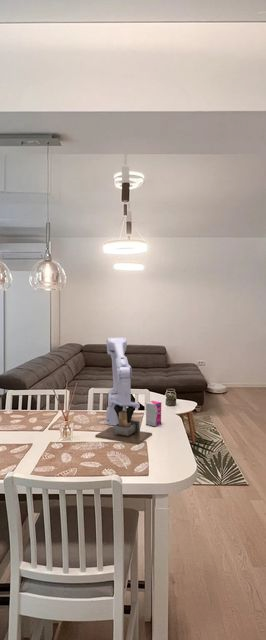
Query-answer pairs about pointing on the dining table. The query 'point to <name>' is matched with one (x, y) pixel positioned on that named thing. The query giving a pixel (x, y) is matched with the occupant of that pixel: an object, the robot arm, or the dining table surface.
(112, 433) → the bracket
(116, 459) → the dining table surface
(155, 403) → the supplement box
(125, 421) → the brown rectangular block
